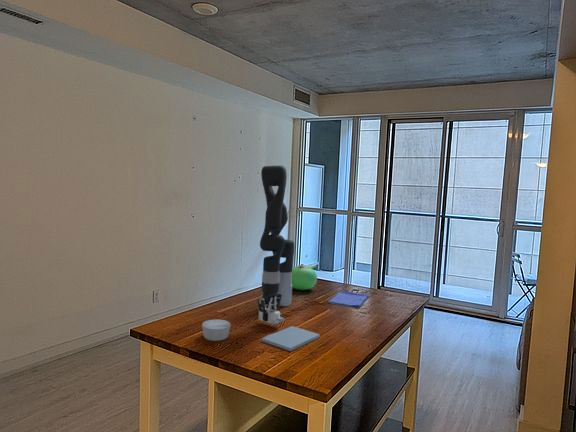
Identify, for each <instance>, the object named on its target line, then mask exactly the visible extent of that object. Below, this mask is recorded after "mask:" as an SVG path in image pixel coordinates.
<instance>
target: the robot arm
mask: <svg viewBox="0 0 576 432" xmlns="http://www.w3.org/2000/svg"><path fill="white" fill-rule="evenodd" d="M260 174H261V183H262V185H263V186H262V187H263V192H264V195H265V202H266V211H265V219H264V221H265V222H264V229H263V232H262V235H261V237H260V241H259V247H260V249H261V250H262V251H263V252H272V255H269V256H267V255H266V256H265V257H263V264H262V274H261V275H262V276H261V292H262V296H261V298H258V299H257V307H258V312H259V311H260V312H263V321H262V322H264V321H268V310H269V309H273V310H276V311H277V309H278V308H279V307H289V306H291V304H292V302H293V301H292V299H293V288H292V267H293V266H294V254H295V242H294V240H291V239H285V237H284V236H283V235H281V234H280V233H281V232H282V230H283V229H284V227H285V226H286V224H287V222H288V208H287V206H286V204H285V203H284V199H285V193H286V185H287V168H286V167H285V166H284V165H265V166H263V167H262V168H261V173H260ZM273 187H277V191H276V193H275V191H274V188H273ZM281 258H283V259H284V260H285V261H283V262H281ZM265 308H266V310H265Z"/></svg>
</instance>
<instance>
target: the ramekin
mask: <svg viewBox="0 0 576 432" xmlns="http://www.w3.org/2000/svg"><path fill="white" fill-rule="evenodd" d="M201 327H202V335H203V337H204V338H205V339H206V340H208V341H210V342H211V341H212V342H218V341H224V340H226V339H227V338H228V337H229V334H230V328H231V322H230V321H227V320H224V319H218V318H216V319H208V320H205V321H203V322H202V324H201Z"/></svg>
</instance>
